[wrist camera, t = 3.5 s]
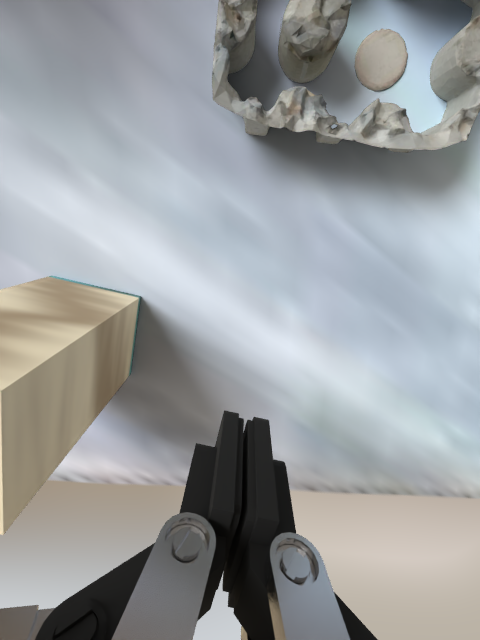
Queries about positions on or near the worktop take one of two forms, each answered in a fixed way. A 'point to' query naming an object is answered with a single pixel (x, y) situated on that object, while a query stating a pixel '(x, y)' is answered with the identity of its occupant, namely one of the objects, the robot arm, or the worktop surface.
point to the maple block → (55, 375)
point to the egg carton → (371, 69)
